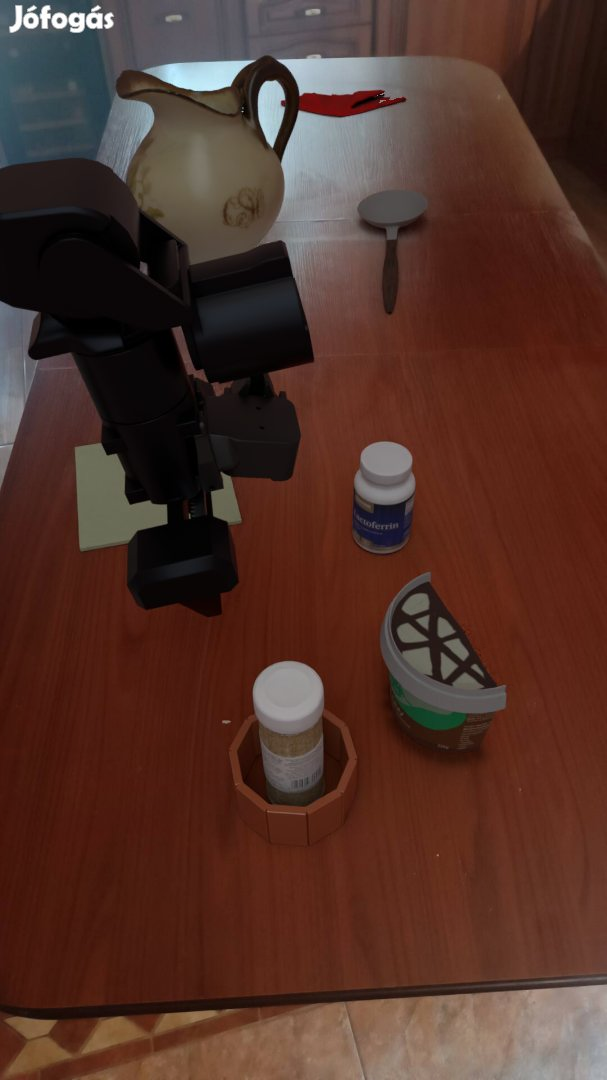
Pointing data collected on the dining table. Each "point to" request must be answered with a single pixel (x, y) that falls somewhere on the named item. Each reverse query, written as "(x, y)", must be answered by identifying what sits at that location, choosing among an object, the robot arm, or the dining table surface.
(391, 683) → the food container
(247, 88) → the pitcher
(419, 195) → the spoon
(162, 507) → the placemat
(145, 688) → the dining table surface
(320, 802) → the brown hollow polygonal ring
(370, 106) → the cloth
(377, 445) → the pill bottle
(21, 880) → the dining table surface
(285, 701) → the sprinkles bottle
